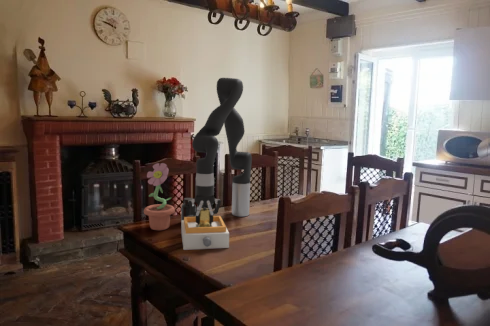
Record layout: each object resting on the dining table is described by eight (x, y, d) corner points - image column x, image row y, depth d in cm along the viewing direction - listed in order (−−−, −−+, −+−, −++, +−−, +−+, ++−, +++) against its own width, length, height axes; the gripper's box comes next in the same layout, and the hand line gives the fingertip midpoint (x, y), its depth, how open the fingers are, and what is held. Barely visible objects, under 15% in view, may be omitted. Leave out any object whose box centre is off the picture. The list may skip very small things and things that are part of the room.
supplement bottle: (189, 226, 178) (189, 201, 177) (178, 223, 182) (178, 199, 180) (198, 222, 184) (198, 198, 182) (187, 220, 188) (187, 196, 186)
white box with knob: (181, 233, 168) (181, 215, 166) (221, 231, 171) (222, 214, 170) (183, 252, 145) (184, 232, 144) (230, 250, 149) (230, 230, 148)
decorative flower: (135, 229, 172) (134, 163, 167) (156, 221, 184) (155, 160, 180) (161, 234, 165) (161, 166, 161) (180, 226, 177) (181, 163, 173)
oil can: (198, 228, 161) (198, 204, 159) (209, 228, 162) (209, 204, 160) (199, 232, 156) (199, 207, 155) (210, 231, 157) (210, 207, 156)
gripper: (220, 181, 161) (219, 220, 164) (186, 182, 159) (186, 221, 161) (223, 185, 154) (222, 225, 157) (187, 185, 151) (187, 227, 154)
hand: (204, 223), depth 159 cm, fingers closed on oil can, 4 cm apart
